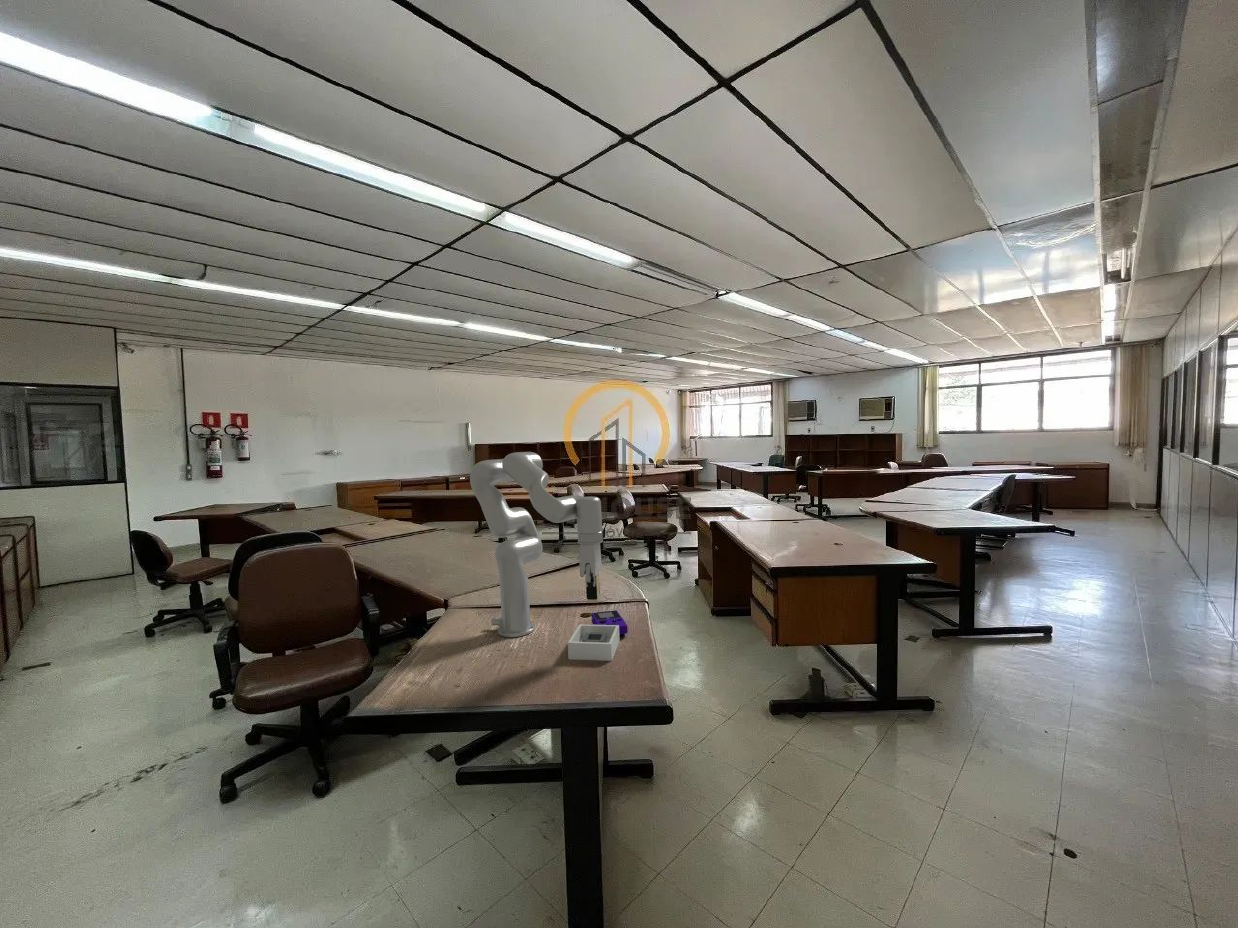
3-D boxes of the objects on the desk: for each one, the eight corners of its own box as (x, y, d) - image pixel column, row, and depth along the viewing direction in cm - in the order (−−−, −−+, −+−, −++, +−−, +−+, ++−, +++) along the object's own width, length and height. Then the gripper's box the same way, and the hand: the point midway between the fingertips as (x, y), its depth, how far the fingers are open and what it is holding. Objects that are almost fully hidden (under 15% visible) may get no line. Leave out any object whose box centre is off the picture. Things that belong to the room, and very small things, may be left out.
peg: (587, 602, 143) (586, 573, 142) (590, 598, 146) (588, 570, 145) (597, 602, 142) (596, 573, 142) (599, 598, 145) (598, 570, 145)
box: (568, 659, 139) (567, 642, 139) (580, 639, 153) (579, 624, 152) (611, 660, 137) (611, 643, 137) (619, 640, 151) (619, 625, 150)
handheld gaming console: (600, 627, 151) (591, 611, 165) (600, 643, 151) (591, 626, 165) (628, 623, 153) (616, 608, 167) (628, 639, 153) (617, 623, 168)
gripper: (584, 532, 152) (587, 589, 153) (571, 543, 136) (574, 606, 136) (607, 532, 151) (610, 589, 151) (596, 542, 135) (599, 606, 135)
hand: (593, 596), depth 144 cm, fingers closed on peg, 3 cm apart
